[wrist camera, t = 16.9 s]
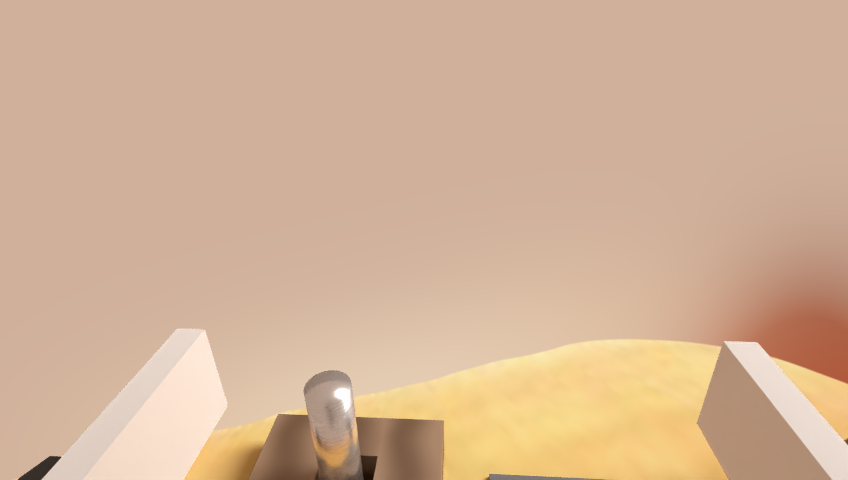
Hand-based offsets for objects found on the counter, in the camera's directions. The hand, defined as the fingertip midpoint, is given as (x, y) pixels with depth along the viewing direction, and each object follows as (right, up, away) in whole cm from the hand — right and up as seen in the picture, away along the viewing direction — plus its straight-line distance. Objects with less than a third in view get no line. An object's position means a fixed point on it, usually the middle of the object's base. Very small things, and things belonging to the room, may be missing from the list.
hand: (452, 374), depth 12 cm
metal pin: (-8, -21, +30) cm, 37 cm away
